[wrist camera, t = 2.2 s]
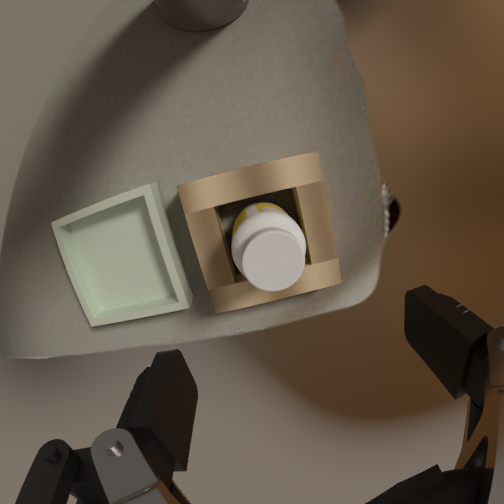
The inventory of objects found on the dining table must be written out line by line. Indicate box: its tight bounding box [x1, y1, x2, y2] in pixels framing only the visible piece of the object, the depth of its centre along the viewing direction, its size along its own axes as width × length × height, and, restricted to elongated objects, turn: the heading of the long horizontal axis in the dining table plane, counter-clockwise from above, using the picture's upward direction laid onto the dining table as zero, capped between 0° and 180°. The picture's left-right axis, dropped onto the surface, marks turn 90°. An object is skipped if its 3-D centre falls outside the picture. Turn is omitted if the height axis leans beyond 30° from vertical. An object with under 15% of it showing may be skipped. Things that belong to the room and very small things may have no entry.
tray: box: [51, 182, 194, 327], centre depth 26 cm, size 12×12×2 cm
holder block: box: [177, 152, 342, 314], centre depth 25 cm, size 12×12×3 cm
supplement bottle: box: [231, 201, 306, 292], centre depth 22 cm, size 5×5×10 cm
